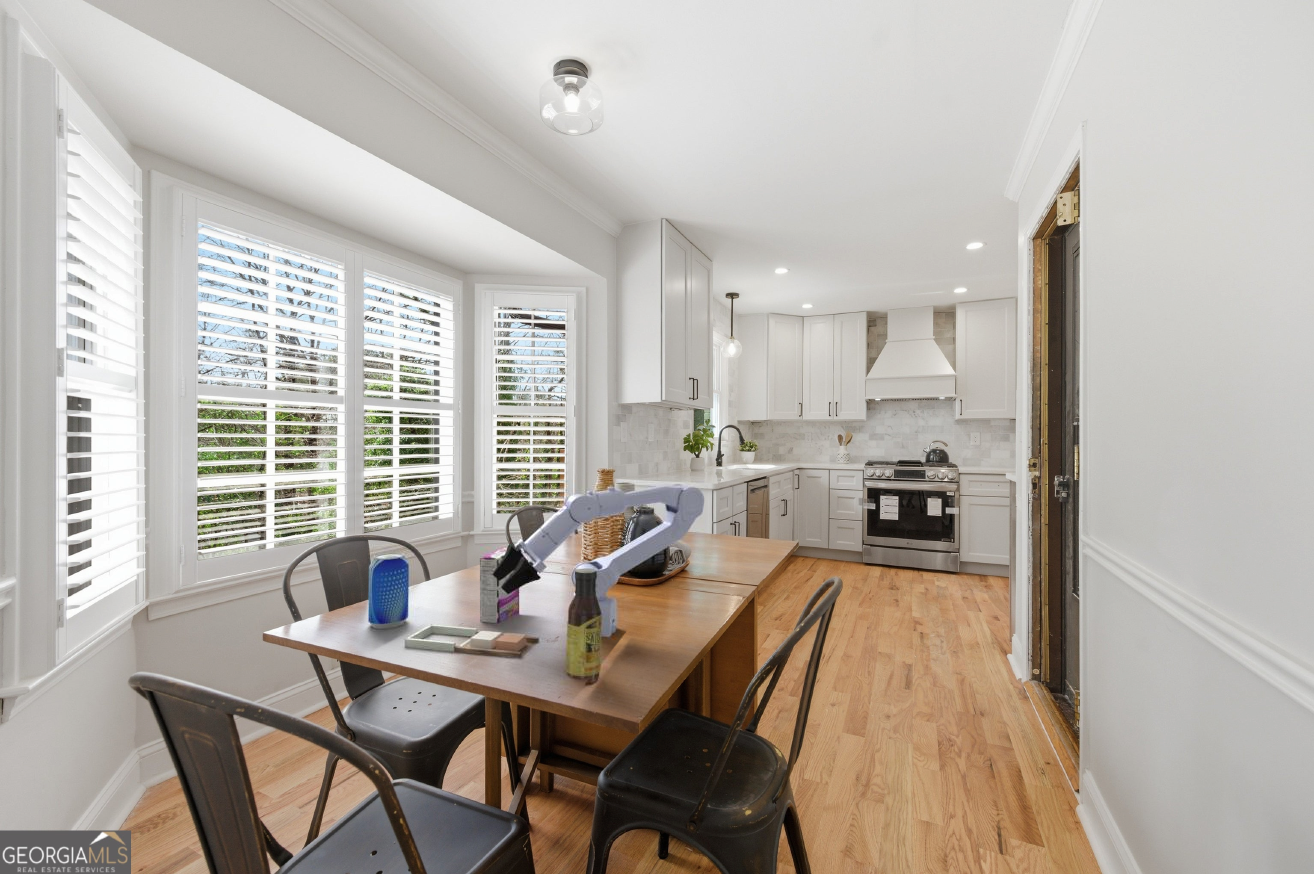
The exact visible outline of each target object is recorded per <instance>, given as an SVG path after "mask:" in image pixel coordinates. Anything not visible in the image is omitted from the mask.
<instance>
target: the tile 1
mask: <svg viewBox="0 0 1314 874" xmlns="http://www.w3.org/2000/svg"><path fill="white" fill-rule="evenodd" d="M478 632H479V633H478V634H476V635H475V636H473V637H472V636H470V638H469V639H470V647H474V648H484V649H493V648H494V647H496V640H497V639H498V638H500V637H501V636H502V634H503V632H502V631H501V632H499V631H489V630H481V631H478Z"/></svg>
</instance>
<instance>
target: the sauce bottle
mask: <svg viewBox="0 0 1314 874" xmlns="http://www.w3.org/2000/svg"><path fill="white" fill-rule="evenodd" d="M596 578H597V571H596V570H595V569H590V568H584V569H577V570H575V579H576V586H574V587H575V590H574V592H575V597H574V599H573V598H572V600H571V602H570V604H569V606H568V612H567V613H568V614H567V617H568V618H567V624H566V625H567V629H566V630H567V631H566V657H565V658H566V659H565V660H566V661H565V671H566V673H567V676H568V677H571V678H574V679H578V680H580V679H585V680H586V679H588V680H587V681H586V683H584V685H585V686H587V685H592V684H594V683H597V681H598V680H599V678H600V672H601V669H602V668H601V667H602V665H601V664H602V661H601V660H602V659H601V658H602V636H601V629H602V613H601V609H600V606H599V603H598V600H597V596H596Z"/></svg>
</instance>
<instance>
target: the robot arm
mask: <svg viewBox="0 0 1314 874" xmlns="http://www.w3.org/2000/svg"><path fill="white" fill-rule="evenodd" d="M657 503H661V504H664V508H665V516H664V521H663V522H662V523H661V524H659V525H657V526H656V527H654V528H652V529H650V530H649V531H647V532H646V533H644V534H642V535H641V536H639V537H637V538H635V539H634V540H632V541H630V542H628V543H627V544H625V545H624V546H622V547H619V548H618V549H617V550H615V551H613V552H612V553H610V554H608V555H605V556H602V557H597V558H595V559H592V560H590V561H583V562H580V563H578V564H577V565H576V566H574V568H573V569H572V572H571V575H570V577H571V578H570V579H571V583H572V585H573V586H574V587H575V586H576V579H575V570H577V569H584V568H590V569H595V570H596V571H597V578H596V596H597V600H598V603H599V606H600V609H601V613H602V629H601V638H602V637H603V638H610V637H611V636H612V635H613V634H614V633H616V630H617V629H618V602H617V599H616V598H612V597H609V596H607V592H609V590H610V588H612V587H613V586H614V585H617V583H618V581H619V578H620V576H622V575H624V574H625V573H627V572H628V571H630V570H632V569H633V568H635V567H636V566H639V565H640V564H642V563H644V562H645V561H647V560H648V559H650V558H651V557H653V556H654V555H656V554H658V553H660V552H662V551H663V550H665V549H666V548H668V547H670V546H671V545H673V544H674V543H676V542H678V541H680V540H681V539H683V538H684V537H685V536H686V535H687V533H688V532H689V530H690V529H691V527H692V525H693V524H694V522H695V520H696V519H697V518H698V517H700V516H701V515H702V514H703V512H704V511H703V510H704V506H705V496H704V493H703V492H702V491H701V490H700V489H699V488H697V487H693V486H686V485H682V484H679V483H674V484H662V485H661V484H660V485H657V486H656V485H655V486H653V487H652V486H651V487H646V488H642V489H637V490H633V491H628V492H624V491H623V490H621V489H620V488H616V487H614V486H607V489H606V490H601V491H595V492H593V491H592V490H588V491H586V494H585V495H584V494H581V493H575V494H572V495H570V496H567V497H566V499H565V500H564V502H563V505H562V507H561V508H560V509H559V510H558V511H556V512H555V513H553V515H552V516H551V517H549V518H548V520H546V521H545V522H544V523H543V524H542V525H541V526H540V527H539V528H538V529H537V530H536V531H535V532H534V533H533V534H532V535H530V536H529V537H528V538H527V539H526V540H525V541H523V539H522V538H520V539H519V540H518V541H517V542H516V543H515V544H514V546H515V547H514V546H513V545H512V544H510V543H509V544H508V545H507V547H506V548H507V550H506V553H505V555H504V557H503V559H502V560H501V562H500V563H499V565H498V566H497V568H496V569H495V570H494V572H493V576H494V577H495V578H496V579H497V580H499V581H500V580H502V579H503V578H505V577H506V576H507V575H508V574H510V573H511V572H512V571H513V573H512V574H511V575H510V576H509V577H508V579H507V580H506V581H505V582H504V583H503V585H502V586H501V588H502V589H503V590H504V591H505V592H506V593H507V594H510V593H512V592H513V591H515V590H517V589H518V588H519V589H520V588H522V587H523V586H525V585H528V584H529V583H532V582H535V581H539V580H540V579H541V576H540V575H539V574H541V573H542V572H543V571H544V570H545V569H546V568H547V565H546V564H545V563H544V561H545V560H547V558H549V556H551V555H552V553H554V552H555V551H556V549H558V547H560V546H561V545H562V544H563V543H564V542H565V541H566V540H567V539H569V537H570V536H571V535H572V534H573V533H574V532H575V531H576V530H578V528H579V527H580V526H581V525H582V524H583V523H586V524H587V523H590V522H591V521H593V520H594V519H600V518H604V517H611V516H615V515H621V514H624V512H625V511H626V510H627V508H629V507H636V506H644V505H651V504H657ZM538 573H539V574H538ZM572 595H573V597H572V600H573V599H574V597H575V591H574V593H573V594H572Z"/></svg>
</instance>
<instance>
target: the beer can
mask: <svg viewBox="0 0 1314 874" xmlns="http://www.w3.org/2000/svg"><path fill="white" fill-rule="evenodd" d="M409 564H410V563H409V562H408V560H407V559H406V557H405V553H402V552H383V553H377V554H375V555H373V559H372V561H371V562H370V565H368V608H367V609H368V613H367V614H368V616H367V617H368V618H367V619H368V623H369V624H370V625H371V627H372V628H374V629H377V630H386V629H394V628H398V627H401V626H403V625H404V624H405V623H406V620H407V619H408V618H409V597H410V596H409V593H410V592H409V591H410V589H409V587H410V586H409V585H410V581H409V580H410V579H409V578H410V576H409V575H410V573H409V572H410V565H409Z"/></svg>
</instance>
